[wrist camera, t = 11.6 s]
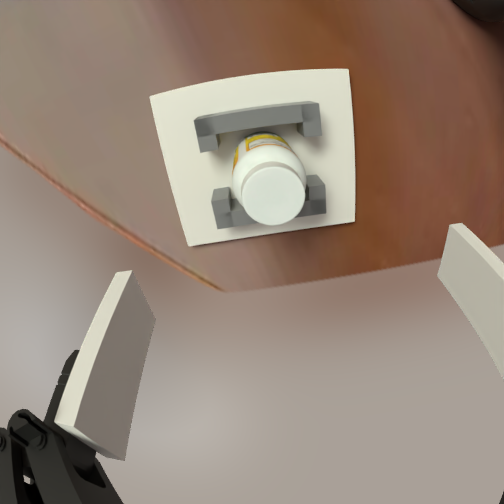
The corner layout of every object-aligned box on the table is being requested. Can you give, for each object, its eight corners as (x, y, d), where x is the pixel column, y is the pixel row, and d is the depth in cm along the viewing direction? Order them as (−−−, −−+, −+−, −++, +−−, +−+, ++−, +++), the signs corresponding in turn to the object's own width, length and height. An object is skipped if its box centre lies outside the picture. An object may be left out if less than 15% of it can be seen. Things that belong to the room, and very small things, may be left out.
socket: (344, 69, 22) (361, 67, 18) (351, 217, 30) (364, 235, 27) (152, 95, 22) (138, 98, 19) (189, 241, 31) (184, 262, 28)
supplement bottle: (262, 118, 23) (276, 136, 15) (303, 158, 26) (333, 196, 18) (221, 159, 25) (212, 198, 17) (262, 196, 28) (273, 249, 20)
